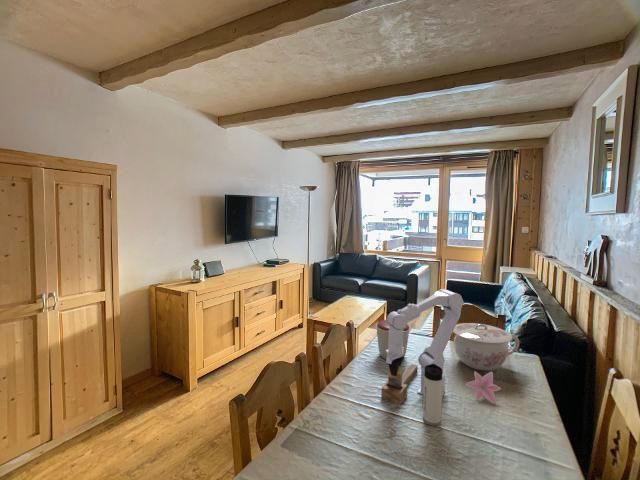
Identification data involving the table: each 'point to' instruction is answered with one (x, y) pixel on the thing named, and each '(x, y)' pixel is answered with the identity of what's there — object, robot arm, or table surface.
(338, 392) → the table surface
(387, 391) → the post
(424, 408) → the travel mug
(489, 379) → the lily
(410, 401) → the table surface
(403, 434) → the table surface
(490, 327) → the chamber pot
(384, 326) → the canister
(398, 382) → the tan square peg
